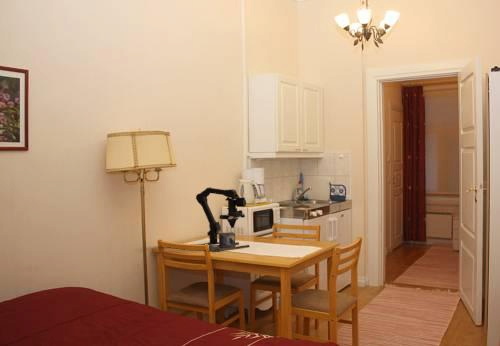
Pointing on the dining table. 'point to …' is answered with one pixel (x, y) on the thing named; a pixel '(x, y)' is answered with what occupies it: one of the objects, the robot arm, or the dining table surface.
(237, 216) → the robot arm
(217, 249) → the guide channel
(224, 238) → the small box
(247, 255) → the dining table surface
